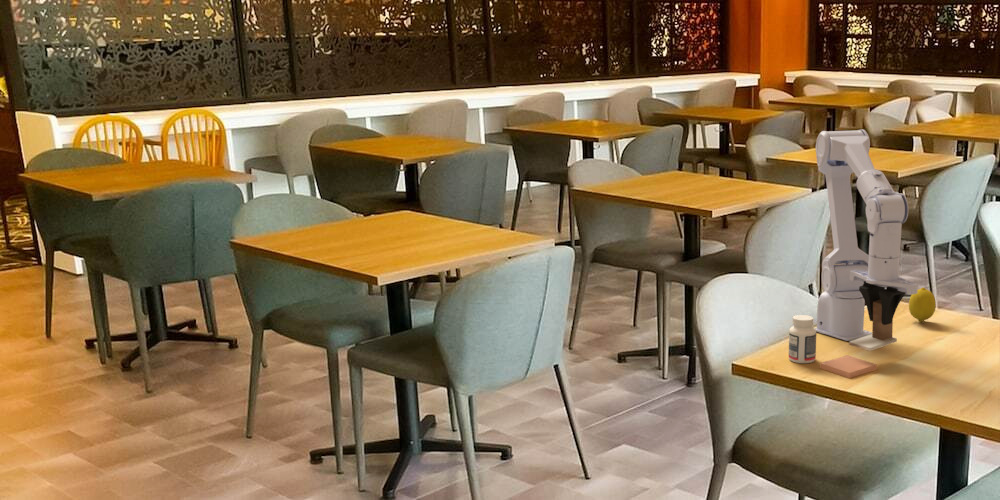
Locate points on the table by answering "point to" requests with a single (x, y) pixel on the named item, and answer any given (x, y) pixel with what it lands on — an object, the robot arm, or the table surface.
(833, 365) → the tile
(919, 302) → the lemon
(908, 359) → the table surface
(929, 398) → the table surface
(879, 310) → the brown grey l-shaped block
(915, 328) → the table surface
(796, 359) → the pill bottle
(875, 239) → the robot arm
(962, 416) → the table surface
